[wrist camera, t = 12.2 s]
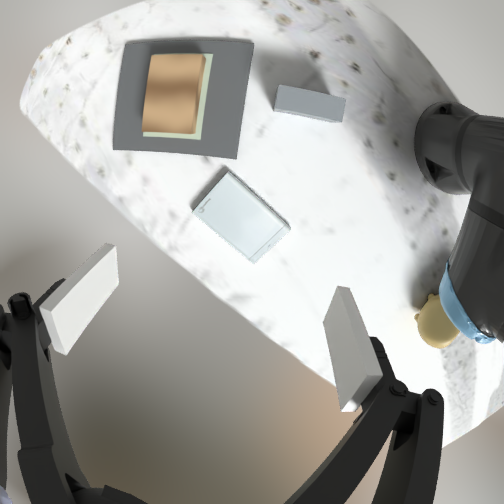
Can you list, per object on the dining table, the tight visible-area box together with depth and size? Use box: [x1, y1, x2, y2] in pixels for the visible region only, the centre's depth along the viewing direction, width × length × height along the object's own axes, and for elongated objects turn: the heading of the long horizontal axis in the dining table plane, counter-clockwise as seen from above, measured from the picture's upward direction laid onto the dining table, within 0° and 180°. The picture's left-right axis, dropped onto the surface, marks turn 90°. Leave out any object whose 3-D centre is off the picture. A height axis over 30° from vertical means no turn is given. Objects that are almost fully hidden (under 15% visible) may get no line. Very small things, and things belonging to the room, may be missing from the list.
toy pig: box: [415, 294, 460, 348], centre depth 42 cm, size 10×12×11 cm
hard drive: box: [192, 171, 291, 264], centre depth 41 cm, size 2×8×12 cm
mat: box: [113, 40, 254, 159], centre depth 33 cm, size 19×17×1 cm
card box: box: [142, 54, 206, 134], centre depth 31 cm, size 11×7×2 cm, turn 172°
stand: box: [273, 84, 346, 122], centre depth 31 cm, size 8×3×6 cm, turn 82°
